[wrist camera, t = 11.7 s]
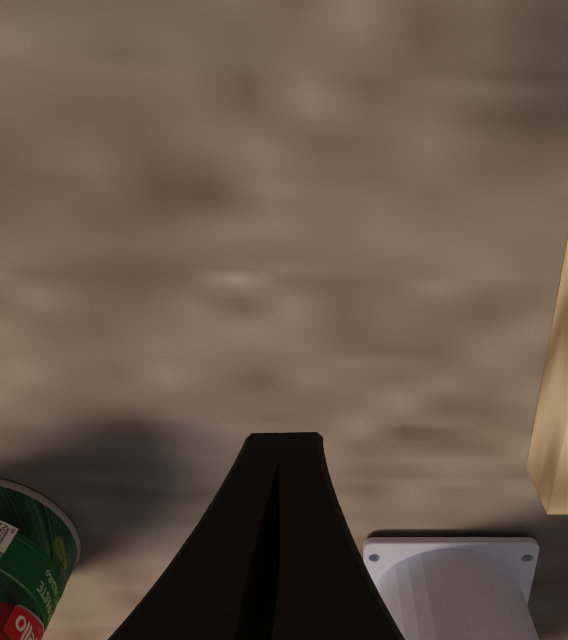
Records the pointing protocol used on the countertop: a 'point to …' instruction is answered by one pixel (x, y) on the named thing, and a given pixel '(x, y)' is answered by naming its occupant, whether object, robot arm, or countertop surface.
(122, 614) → the countertop surface
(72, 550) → the canned tomato
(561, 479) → the birch plate
